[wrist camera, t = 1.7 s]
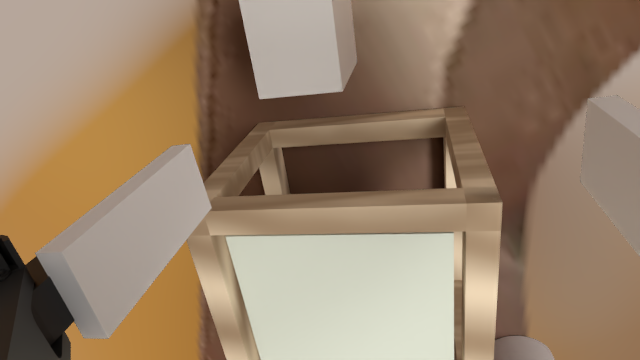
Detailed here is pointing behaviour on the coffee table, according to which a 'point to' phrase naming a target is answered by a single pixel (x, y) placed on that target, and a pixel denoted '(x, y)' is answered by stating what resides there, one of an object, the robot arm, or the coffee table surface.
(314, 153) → the coffee table surface
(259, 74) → the light gray block
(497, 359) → the coffee cup
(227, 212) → the maple stand
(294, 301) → the trapdoor
